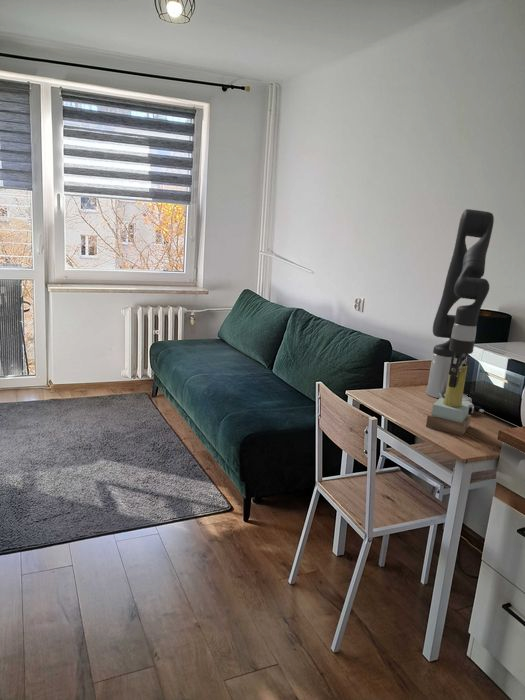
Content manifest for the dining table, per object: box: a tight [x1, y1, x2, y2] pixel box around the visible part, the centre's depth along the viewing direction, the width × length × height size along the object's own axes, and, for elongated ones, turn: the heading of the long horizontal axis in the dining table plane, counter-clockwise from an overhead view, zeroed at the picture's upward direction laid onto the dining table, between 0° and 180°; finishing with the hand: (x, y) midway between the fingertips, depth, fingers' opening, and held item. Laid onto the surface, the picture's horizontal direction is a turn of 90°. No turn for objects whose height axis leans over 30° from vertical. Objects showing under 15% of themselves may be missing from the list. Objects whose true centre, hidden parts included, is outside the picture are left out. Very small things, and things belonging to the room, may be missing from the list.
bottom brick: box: [425, 411, 472, 437], centre depth 191 cm, size 12×12×4 cm
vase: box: [443, 363, 468, 407], centre depth 187 cm, size 6×6×14 cm
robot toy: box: [439, 393, 485, 415], centre depth 211 cm, size 12×4×15 cm
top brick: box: [431, 398, 470, 423], centre depth 190 cm, size 10×10×4 cm
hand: (455, 384), depth 188 cm, fingers open, 8 cm apart
